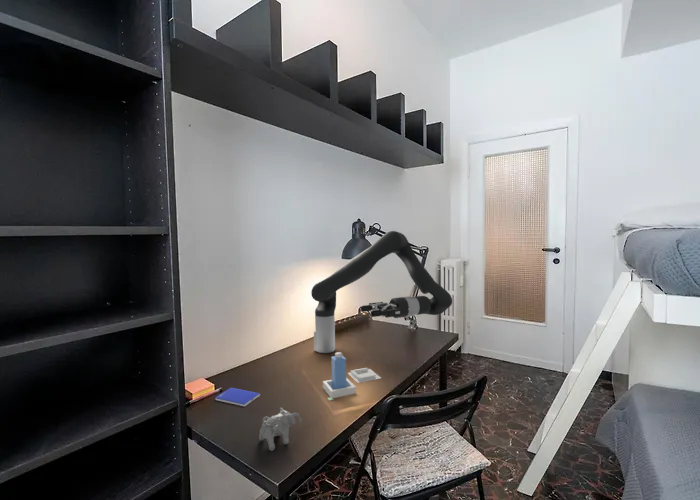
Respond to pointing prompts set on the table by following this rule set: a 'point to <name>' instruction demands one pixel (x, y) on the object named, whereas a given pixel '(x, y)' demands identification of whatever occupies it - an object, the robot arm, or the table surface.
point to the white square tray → (363, 375)
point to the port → (340, 392)
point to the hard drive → (237, 396)
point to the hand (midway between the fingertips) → (365, 311)
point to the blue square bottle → (338, 371)
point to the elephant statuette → (277, 427)
